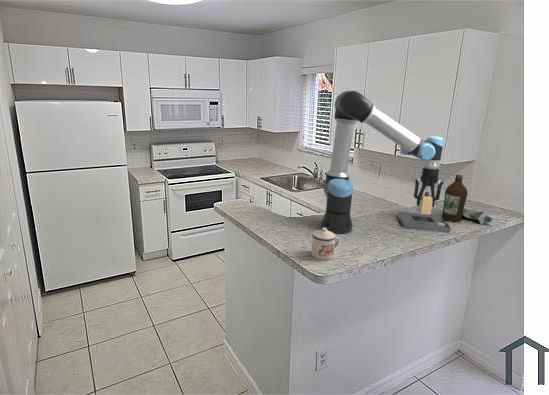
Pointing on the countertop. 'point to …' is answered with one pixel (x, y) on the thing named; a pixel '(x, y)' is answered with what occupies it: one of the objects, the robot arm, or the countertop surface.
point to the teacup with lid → (323, 244)
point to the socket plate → (433, 221)
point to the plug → (426, 204)
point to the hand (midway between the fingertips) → (423, 212)
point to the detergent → (477, 215)
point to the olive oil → (454, 200)
